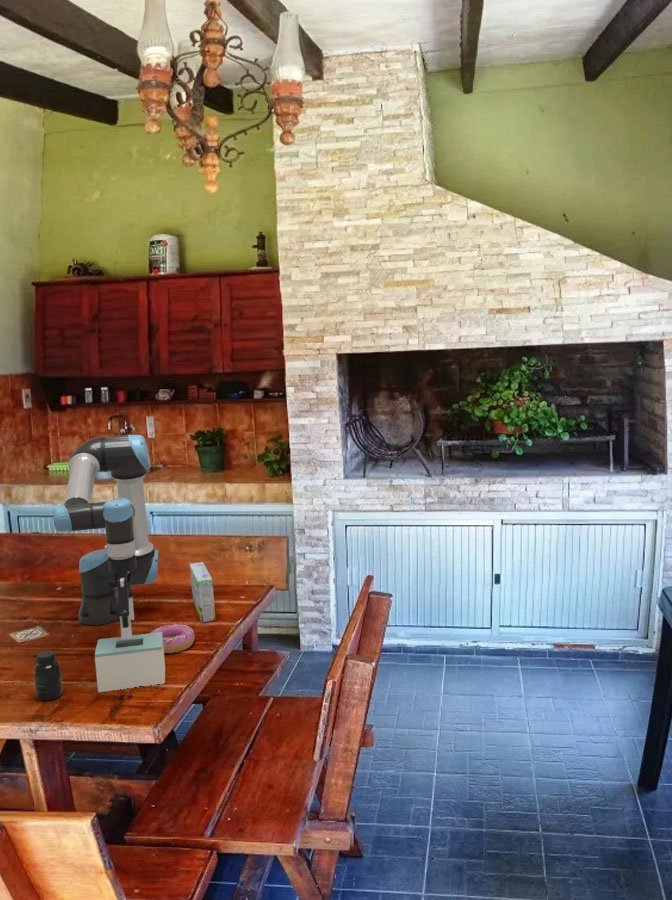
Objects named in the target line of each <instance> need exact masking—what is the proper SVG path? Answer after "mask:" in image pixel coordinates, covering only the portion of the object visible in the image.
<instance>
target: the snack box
mask: <svg viewBox="0 0 672 900" xmlns="http://www.w3.org/2000/svg"><path fill="white" fill-rule="evenodd" d="M205 565H206V564H205V563H204V561H201V562H194V563H189V572H190V582H191V583H190V585H191V590H192V591H191V592H192V594H191V595H192V602H193V605H194V608H195V610H196V612H197V613H196V614H197V616H198V619H199V622H200V623H201V624H203V623H209V622H210V623H211V622H215V621H217V619H216V610H215V609H216V608H215V597H214V596H215V595H214V585H213V584H214V583H213V578H212V576H211V574H210V573H209V571H208V569H207V567H206V566H205Z"/></svg>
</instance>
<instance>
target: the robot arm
mask: <svg viewBox="0 0 672 900" xmlns="http://www.w3.org/2000/svg"><path fill="white" fill-rule="evenodd" d="M151 464H152V463H151V460H150V454H149V447H148V443H147V441H146V439H145V437H144V436H143V435H142V434H124V435H110V436H98V437H97V436H96V437H94V438H91V439H88V440H87V441H84V442H82V443H81V444H80V445H79V446H77V448H76V449H75V450H74V451H73V452H72V454H71V455H70V458H69V460H68V467H67V468H68V471H69V473H70V474H69V476H68V477H69V478H68V480H67V481H68V483H67V487H66V491H65V497H64V502H63V504H61V505H56V506H55V507H54V508H53V511H52V512H53V513H52V521H53V526H54V529H55V530H56V532H59V533H60V532H61V533H62V532H66V533H67V532H69V533H70V532H71V533H72V532H78V531H87V530H89V531H90V530H100V529H104V530H105V541H106V545H104V548H103V549H97V550H94V551H93V550H92V551H90V552H88V553H86V554H84V555H82V557H81V558H80V559H79V562H78V564H79V566H78V567H79V570H78V573H79V576H80V577H79V578H80V588H81V597H82V599H81V603H80V606H79V611H78V621H79V622H80V623H81V624H82V625H83V624H84V625H88V626H97V625H107V624H110V623H114V622H115V621H120V622H119V623H120V635H121V636H120V637H122V639H124V638H132V635H133V633H132V632H133V631H132V621H135V610H134V599H133V597H135V592H133V587H132V586H142V585H143V586H145V585H149V584H153V583H155V582H156V581H157V579H158V567H159V566H158V565H159V550H158V549H156V548H154V544H153V543H152V542H150V540H149V539H150V538H149V531H148V519H147V509H146V500H145V498H146V497H145V489H144V478H145V477H146V476H147V475H148V470H149V469H151V468H152V467H151V466H152V465H151ZM98 473H110V475H111V479H114V481H116V488H117V496H118V498H116V499H112V500H108V501H100V502H92V501H93V495H94V494H93V493H94V488H95V480H96V476H97V475H98Z"/></svg>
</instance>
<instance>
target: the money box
mask: <svg viewBox="0 0 672 900" xmlns="http://www.w3.org/2000/svg"><path fill="white" fill-rule="evenodd" d="M96 643H97V644H96V647H95V652H94V662H95V664H94V665H95V674H96V683H97V684H96V685H97V692H98V693H103V692H112V691H113V690H114V691H120V689H121V690H128V689H127V688H129V689H134V687H137V688H140V687H139V686H144V687H151V686H150V685H152V686H158V685H157V684H160V685H165V684H166V663H165V662H166V660H165V654H164V647H163V635H162V632H158V633H151V632H150V633H143V634H134V635H133V634H132V638H124V639H122V636H119V637H118V636H117V637H109V638H100V639H98V640H97V642H96ZM164 683H165V684H164Z"/></svg>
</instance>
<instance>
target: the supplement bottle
mask: <svg viewBox="0 0 672 900" xmlns="http://www.w3.org/2000/svg"><path fill="white" fill-rule="evenodd" d="M35 658H36V665H34V668H33V676H34V685H35V696H36V699H38V700H39V701H41V702H42V701H43V702H44V701H54V700H56V699H57V698H59V697H60V696H62V694H63V691H64V690H63V681H62V673H61V672H62V671H61V670H62V669H61V664H60V663H59V661H57V660H56V653H55V652H54V651H52V650H46V651H42V652H39V653H38V654H37V655H36V657H35Z"/></svg>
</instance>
